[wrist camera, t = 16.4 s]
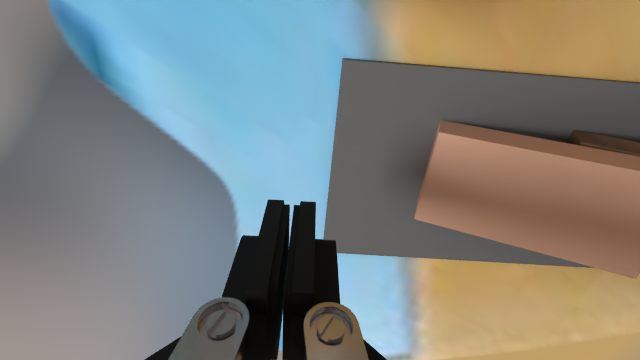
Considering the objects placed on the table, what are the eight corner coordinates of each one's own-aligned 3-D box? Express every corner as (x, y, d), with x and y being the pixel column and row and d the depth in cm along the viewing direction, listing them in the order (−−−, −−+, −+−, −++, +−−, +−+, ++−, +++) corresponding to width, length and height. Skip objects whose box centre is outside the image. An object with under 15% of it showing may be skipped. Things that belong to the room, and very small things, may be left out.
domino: (440, 119, 16) (679, 164, 14) (417, 200, 19) (616, 251, 16) (438, 132, 15) (711, 185, 12) (414, 219, 17) (635, 278, 15)
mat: (342, 58, 15) (343, 59, 15) (848, 99, 16) (860, 101, 16) (322, 247, 21) (322, 252, 21) (693, 269, 22) (699, 273, 22)
